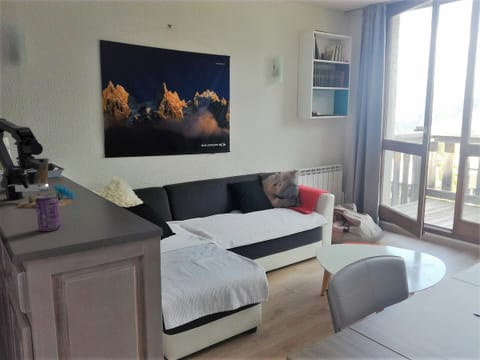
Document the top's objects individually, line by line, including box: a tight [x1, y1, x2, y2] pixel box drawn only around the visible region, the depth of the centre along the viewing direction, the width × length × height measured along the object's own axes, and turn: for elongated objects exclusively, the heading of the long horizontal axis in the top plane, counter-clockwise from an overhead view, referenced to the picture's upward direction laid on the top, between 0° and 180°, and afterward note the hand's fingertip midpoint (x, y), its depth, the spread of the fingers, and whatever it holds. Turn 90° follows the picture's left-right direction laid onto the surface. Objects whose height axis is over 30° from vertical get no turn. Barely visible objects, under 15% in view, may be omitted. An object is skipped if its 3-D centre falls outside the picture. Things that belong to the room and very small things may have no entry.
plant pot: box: [16, 158, 50, 184], centre depth 223 cm, size 16×16×16 cm
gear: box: [53, 184, 76, 199], centre depth 189 cm, size 11×6×10 cm
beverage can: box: [35, 193, 62, 232], centre depth 138 cm, size 7×7×12 cm
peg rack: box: [17, 193, 73, 209], centre depth 179 cm, size 20×10×4 cm, turn 80°
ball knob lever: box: [15, 183, 50, 193], centre depth 187 cm, size 16×4×3 cm, turn 81°
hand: (29, 187), depth 187 cm, fingers closed on ball knob lever, 3 cm apart
